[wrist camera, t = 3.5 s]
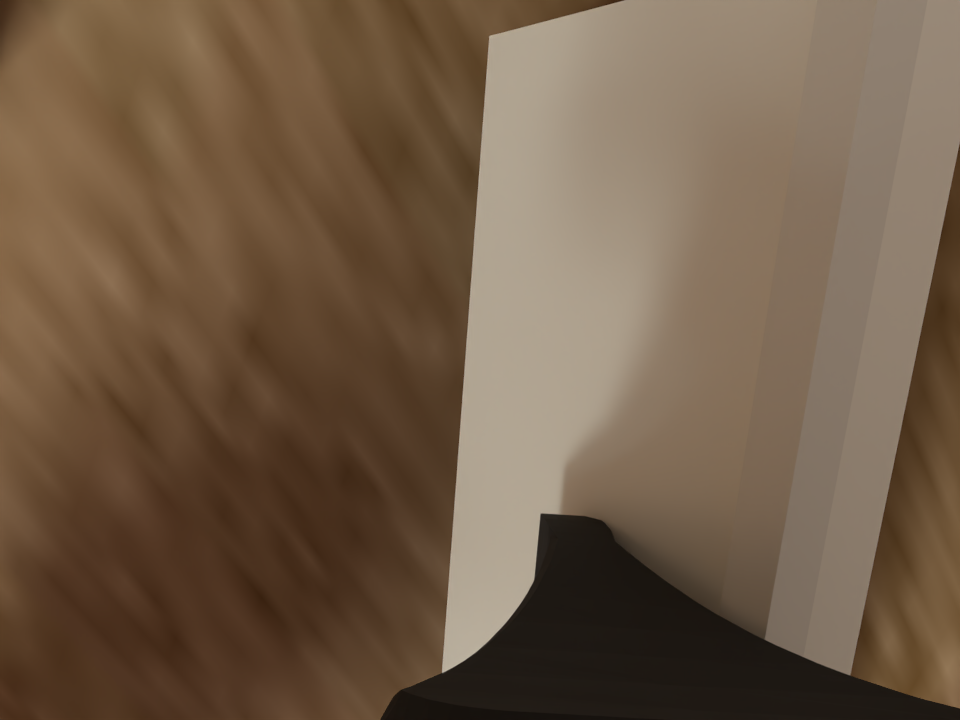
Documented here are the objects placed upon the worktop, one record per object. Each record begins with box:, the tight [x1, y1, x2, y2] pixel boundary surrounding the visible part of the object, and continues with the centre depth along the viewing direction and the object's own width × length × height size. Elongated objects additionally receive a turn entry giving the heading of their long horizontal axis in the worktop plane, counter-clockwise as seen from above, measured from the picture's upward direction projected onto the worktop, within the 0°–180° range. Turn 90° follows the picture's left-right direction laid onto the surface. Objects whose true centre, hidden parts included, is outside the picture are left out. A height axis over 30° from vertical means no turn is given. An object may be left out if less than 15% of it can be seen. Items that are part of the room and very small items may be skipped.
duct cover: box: [442, 0, 960, 675], centre depth 12 cm, size 20×8×1 cm
